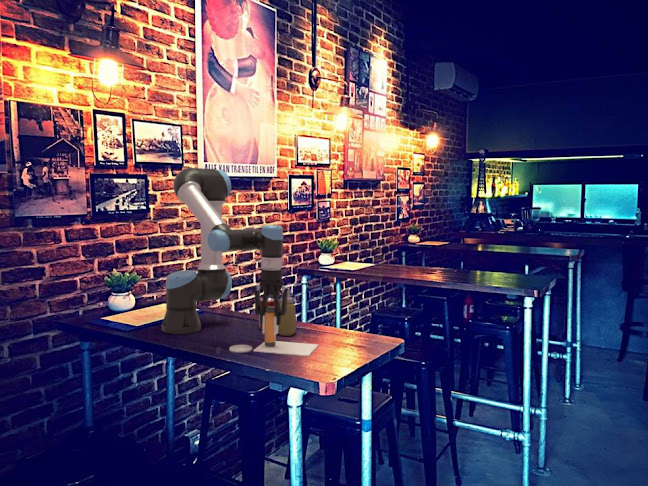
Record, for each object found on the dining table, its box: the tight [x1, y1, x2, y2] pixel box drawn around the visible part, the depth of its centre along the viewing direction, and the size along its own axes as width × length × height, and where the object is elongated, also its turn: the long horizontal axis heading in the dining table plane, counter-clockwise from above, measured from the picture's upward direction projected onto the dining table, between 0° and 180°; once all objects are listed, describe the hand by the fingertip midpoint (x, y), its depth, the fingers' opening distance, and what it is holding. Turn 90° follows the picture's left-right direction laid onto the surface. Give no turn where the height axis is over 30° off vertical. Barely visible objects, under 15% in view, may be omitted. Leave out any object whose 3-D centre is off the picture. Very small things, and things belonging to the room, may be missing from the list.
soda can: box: [258, 297, 275, 331], centre depth 220 cm, size 7×7×12 cm
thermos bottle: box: [264, 306, 277, 346], centre depth 192 cm, size 4×4×14 cm
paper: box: [252, 340, 319, 357], centre depth 191 cm, size 20×14×1 cm
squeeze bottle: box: [278, 291, 298, 337], centre depth 210 cm, size 8×8×18 cm
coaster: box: [229, 344, 253, 354], centre depth 189 cm, size 8×8×1 cm
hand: (270, 333), depth 193 cm, fingers closed on thermos bottle, 3 cm apart
